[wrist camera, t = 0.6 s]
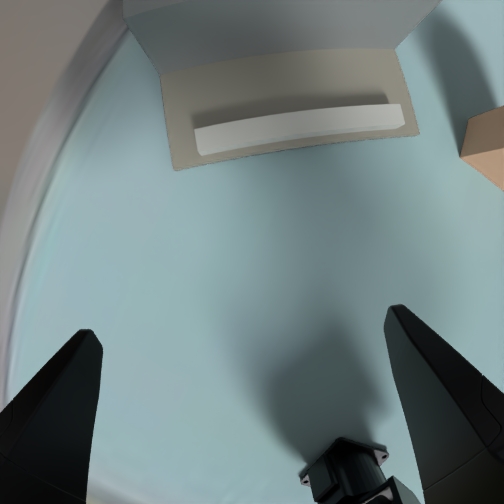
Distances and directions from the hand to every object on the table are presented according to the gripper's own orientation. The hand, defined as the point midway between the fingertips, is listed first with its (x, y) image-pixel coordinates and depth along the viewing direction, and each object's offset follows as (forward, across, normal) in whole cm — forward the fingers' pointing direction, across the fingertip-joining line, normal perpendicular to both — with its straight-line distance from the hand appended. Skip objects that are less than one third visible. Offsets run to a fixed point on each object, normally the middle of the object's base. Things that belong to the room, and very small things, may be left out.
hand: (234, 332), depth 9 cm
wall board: (+18, -4, -4) cm, 19 cm away
